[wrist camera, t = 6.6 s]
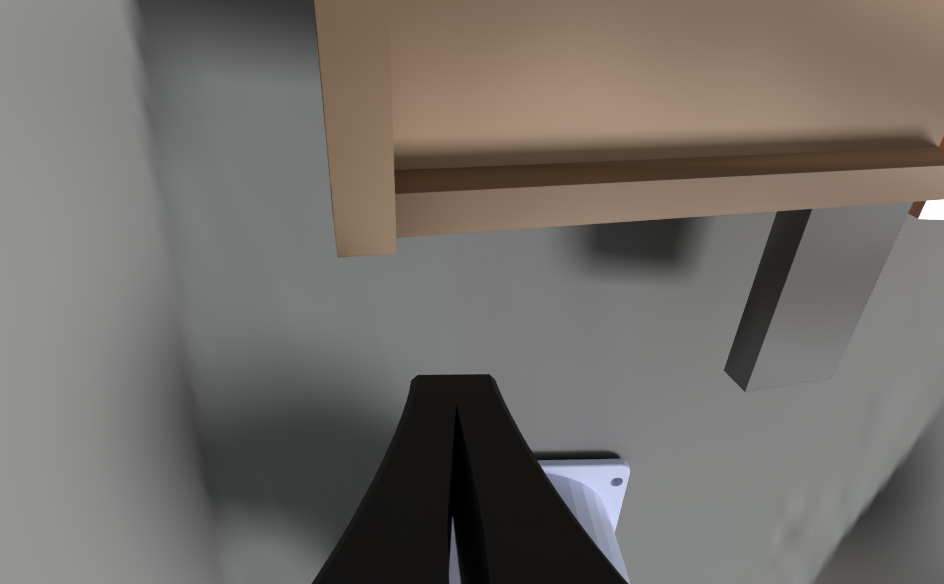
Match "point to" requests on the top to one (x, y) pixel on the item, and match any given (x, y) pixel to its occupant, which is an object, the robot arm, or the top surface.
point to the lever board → (647, 135)
